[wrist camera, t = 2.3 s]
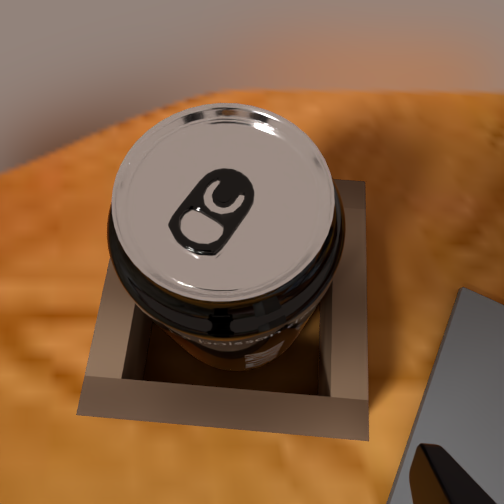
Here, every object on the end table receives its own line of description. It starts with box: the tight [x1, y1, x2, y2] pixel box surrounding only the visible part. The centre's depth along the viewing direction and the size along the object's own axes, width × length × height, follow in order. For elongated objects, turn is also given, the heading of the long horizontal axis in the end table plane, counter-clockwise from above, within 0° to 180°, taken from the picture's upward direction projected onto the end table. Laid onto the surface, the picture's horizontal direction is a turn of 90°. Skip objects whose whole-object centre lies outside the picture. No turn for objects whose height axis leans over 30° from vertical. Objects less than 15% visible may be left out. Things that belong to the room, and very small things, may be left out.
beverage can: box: [107, 103, 346, 371], centre depth 16 cm, size 7×7×12 cm
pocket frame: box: [76, 179, 369, 441], centre depth 20 cm, size 12×12×4 cm
